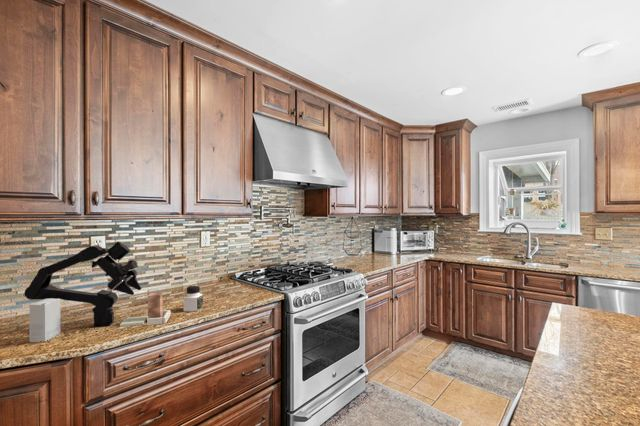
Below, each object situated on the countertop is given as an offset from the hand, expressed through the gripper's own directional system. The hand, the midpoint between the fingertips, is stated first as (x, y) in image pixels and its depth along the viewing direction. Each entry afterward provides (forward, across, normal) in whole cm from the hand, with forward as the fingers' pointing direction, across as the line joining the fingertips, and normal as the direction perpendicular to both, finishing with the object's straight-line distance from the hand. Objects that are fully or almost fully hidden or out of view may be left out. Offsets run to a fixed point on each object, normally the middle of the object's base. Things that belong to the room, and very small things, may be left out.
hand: (137, 291), depth 140 cm
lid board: (+9, 0, +10) cm, 14 cm away
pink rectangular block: (+15, 0, +4) cm, 16 cm away
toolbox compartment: (+16, 0, +2) cm, 16 cm away
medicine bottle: (+25, +13, -7) cm, 29 cm away
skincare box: (-9, -12, +31) cm, 34 cm away
